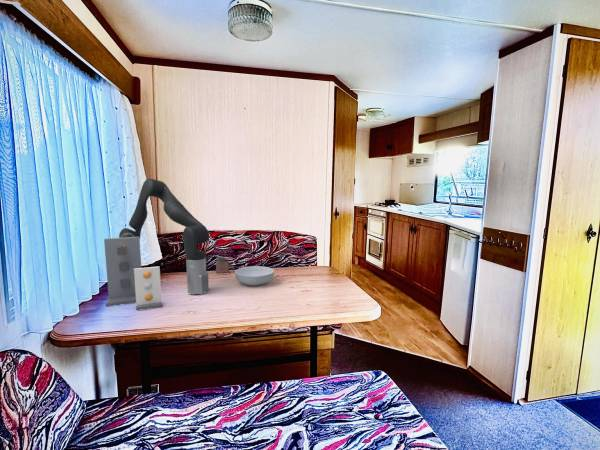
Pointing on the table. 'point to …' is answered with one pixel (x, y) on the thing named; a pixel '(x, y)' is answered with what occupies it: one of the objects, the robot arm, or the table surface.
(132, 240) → the button panel
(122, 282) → the button bottom
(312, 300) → the table surface
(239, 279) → the serving bowl
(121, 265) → the button middle
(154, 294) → the pattern card
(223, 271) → the lighter
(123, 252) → the button top
